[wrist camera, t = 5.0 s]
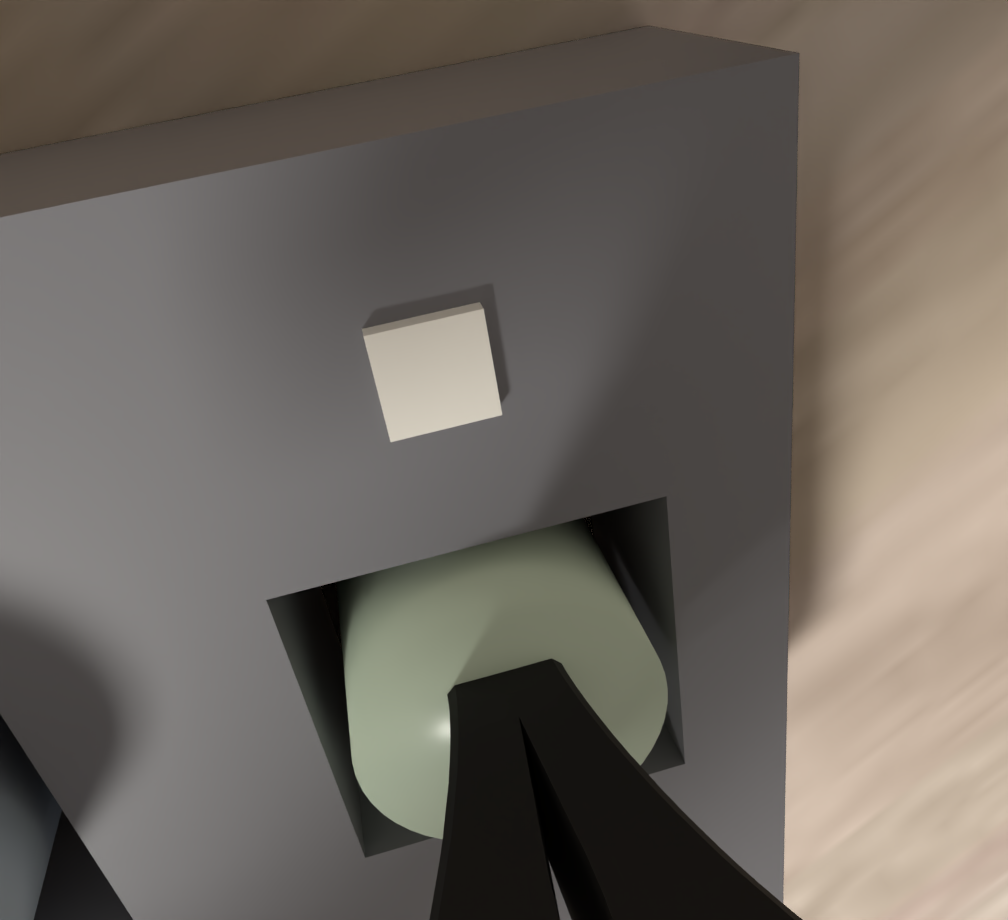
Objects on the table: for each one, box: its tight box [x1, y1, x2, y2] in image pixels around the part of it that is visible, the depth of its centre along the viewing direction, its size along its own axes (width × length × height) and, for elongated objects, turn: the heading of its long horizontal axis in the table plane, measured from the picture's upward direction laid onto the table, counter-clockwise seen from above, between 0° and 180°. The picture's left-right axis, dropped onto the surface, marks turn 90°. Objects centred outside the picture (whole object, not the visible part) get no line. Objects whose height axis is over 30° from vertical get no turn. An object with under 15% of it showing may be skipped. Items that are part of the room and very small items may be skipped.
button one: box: [336, 518, 668, 839], centre depth 12 cm, size 4×4×4 cm
